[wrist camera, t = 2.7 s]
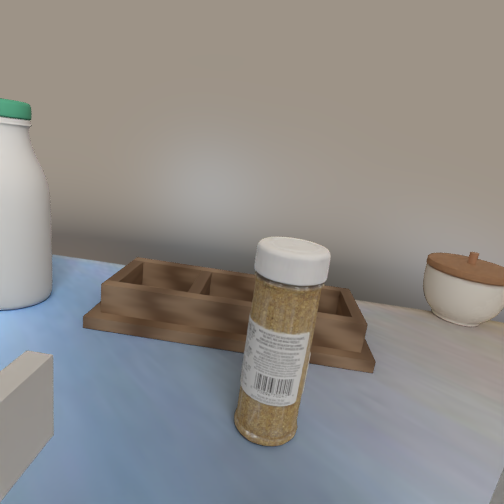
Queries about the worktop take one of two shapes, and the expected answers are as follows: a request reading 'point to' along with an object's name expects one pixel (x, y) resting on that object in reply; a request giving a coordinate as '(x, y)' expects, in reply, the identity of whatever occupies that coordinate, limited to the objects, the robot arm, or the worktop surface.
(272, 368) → the spice bottle
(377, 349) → the worktop surface
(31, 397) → the robot arm
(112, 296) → the wooden compartment tray
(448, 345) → the worktop surface
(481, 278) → the lidded jar
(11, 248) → the milk bottle
